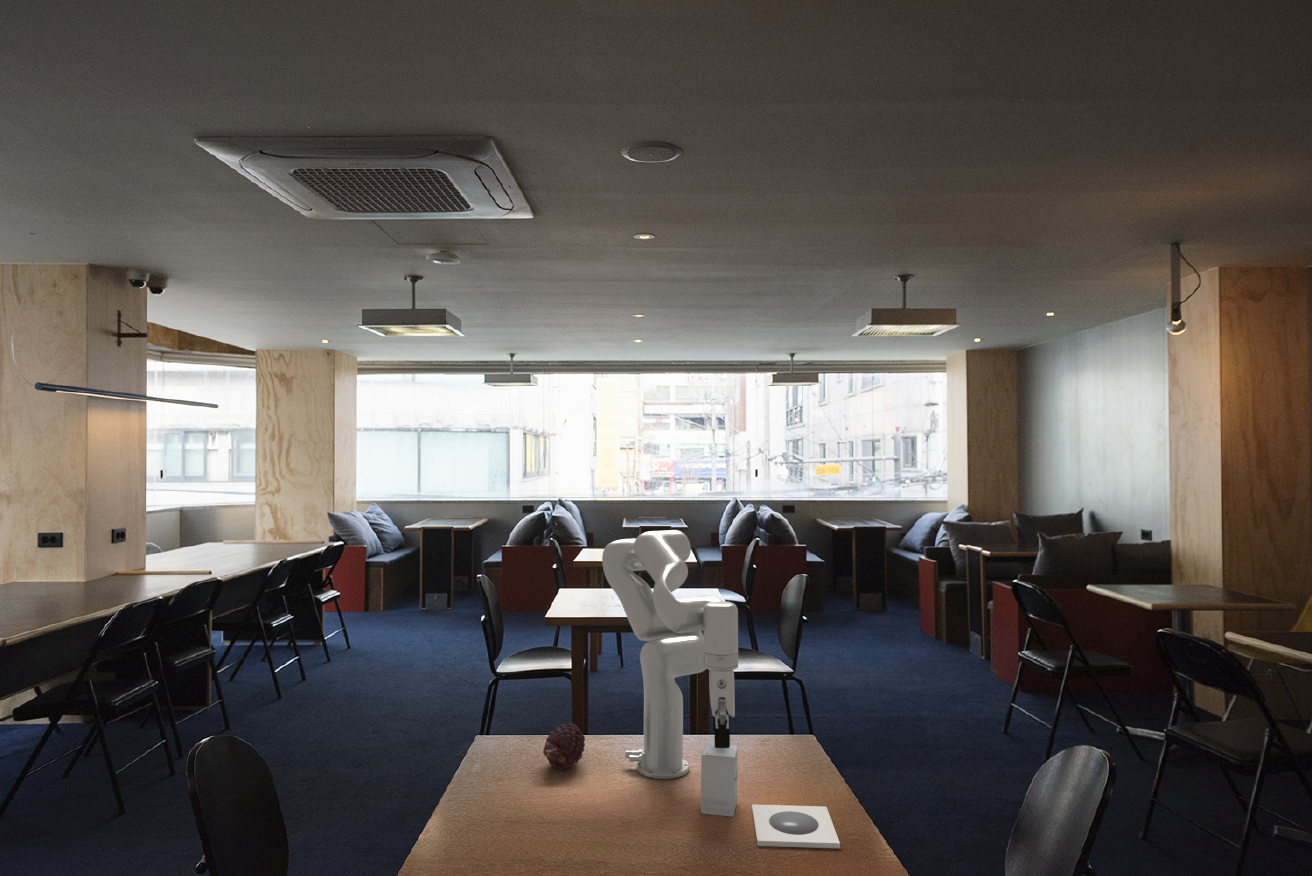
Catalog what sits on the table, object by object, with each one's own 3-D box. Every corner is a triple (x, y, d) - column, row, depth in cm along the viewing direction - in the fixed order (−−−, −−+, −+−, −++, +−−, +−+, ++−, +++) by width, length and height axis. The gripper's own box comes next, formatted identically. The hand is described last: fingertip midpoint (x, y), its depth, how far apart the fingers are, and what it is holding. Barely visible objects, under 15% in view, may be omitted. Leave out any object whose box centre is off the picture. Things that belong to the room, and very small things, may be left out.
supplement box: (734, 817, 168) (735, 757, 168) (699, 814, 169) (700, 754, 170) (738, 802, 175) (738, 745, 175) (704, 799, 177) (705, 742, 177)
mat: (757, 846, 156) (757, 840, 156) (751, 809, 172) (751, 804, 172) (839, 848, 155) (839, 843, 155) (826, 811, 171) (826, 806, 171)
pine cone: (556, 750, 205) (556, 711, 205) (593, 753, 203) (594, 713, 203) (534, 778, 187) (535, 735, 187) (575, 781, 186) (575, 738, 186)
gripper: (740, 670, 164) (741, 754, 163) (736, 650, 181) (736, 727, 180) (704, 669, 164) (704, 754, 164) (703, 650, 181) (703, 726, 181)
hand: (721, 739), depth 172 cm, fingers open, 9 cm apart
